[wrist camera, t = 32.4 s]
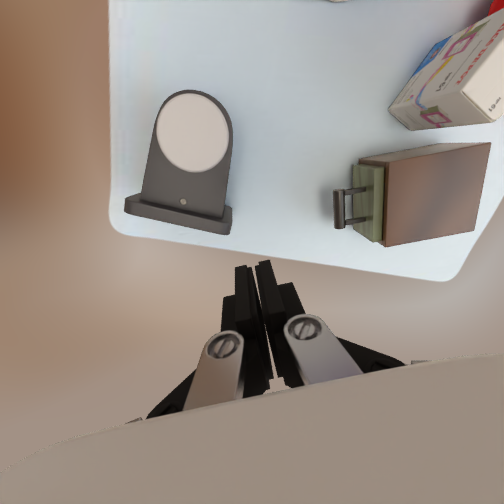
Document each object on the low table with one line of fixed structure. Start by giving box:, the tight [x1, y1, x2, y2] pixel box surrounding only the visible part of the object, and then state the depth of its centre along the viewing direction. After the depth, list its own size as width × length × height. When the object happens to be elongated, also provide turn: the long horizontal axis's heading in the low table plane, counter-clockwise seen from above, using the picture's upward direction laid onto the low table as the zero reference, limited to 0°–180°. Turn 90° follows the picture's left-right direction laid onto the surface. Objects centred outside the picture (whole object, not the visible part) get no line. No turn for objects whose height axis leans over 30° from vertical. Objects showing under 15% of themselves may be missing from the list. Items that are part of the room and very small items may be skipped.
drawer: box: [333, 164, 386, 242], centre depth 33 cm, size 14×9×6 cm, turn 100°
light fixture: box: [124, 90, 233, 235], centre depth 28 cm, size 11×13×11 cm
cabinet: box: [359, 142, 491, 247], centre depth 33 cm, size 11×10×7 cm
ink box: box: [388, 8, 504, 131], centre depth 26 cm, size 9×5×12 cm, turn 148°
